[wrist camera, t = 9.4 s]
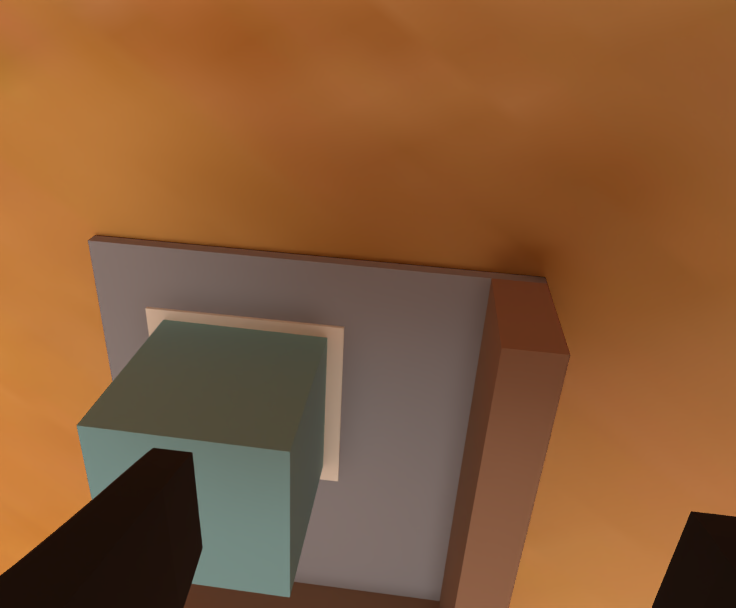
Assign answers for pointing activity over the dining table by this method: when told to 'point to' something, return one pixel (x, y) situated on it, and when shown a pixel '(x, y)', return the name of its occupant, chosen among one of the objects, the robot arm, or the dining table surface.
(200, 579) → the teal cube
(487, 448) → the tray
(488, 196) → the dining table surface
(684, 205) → the dining table surface
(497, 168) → the dining table surface
